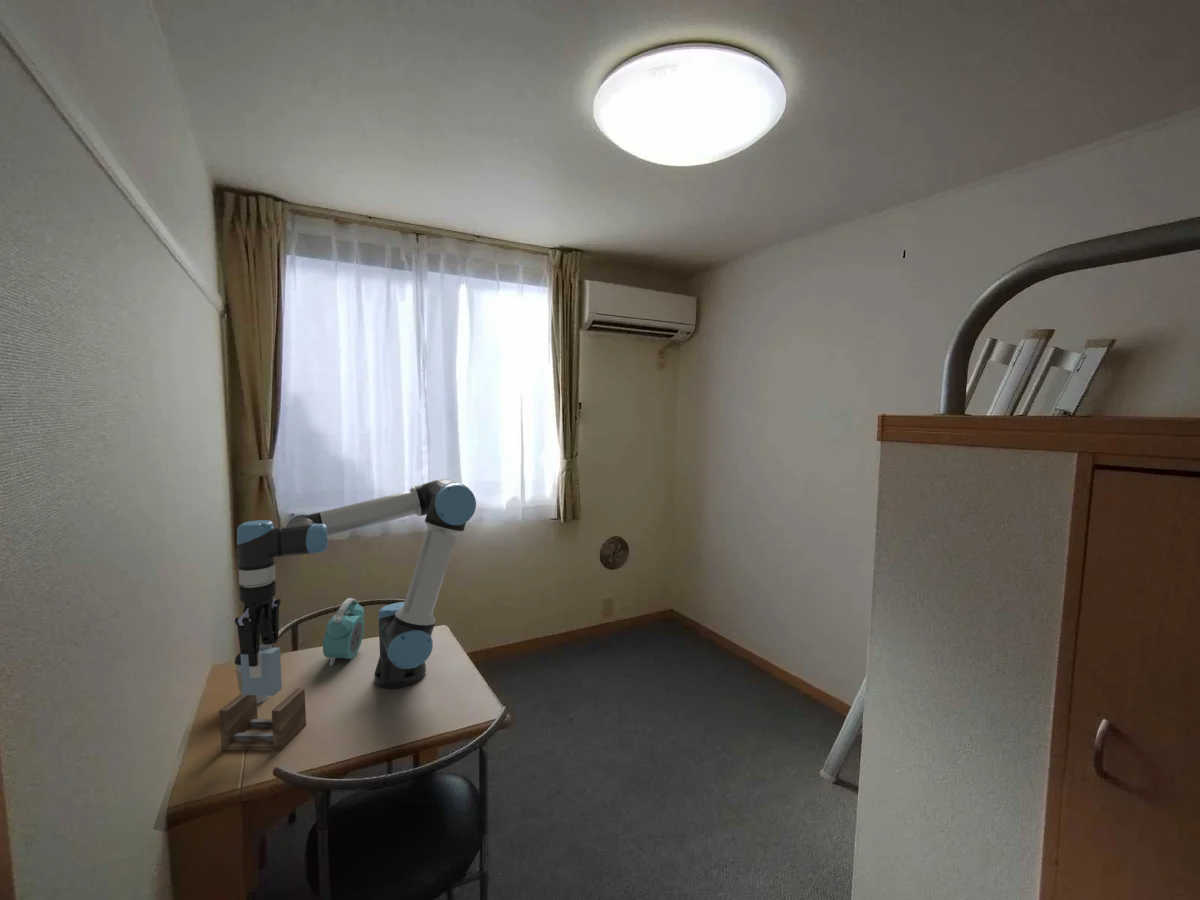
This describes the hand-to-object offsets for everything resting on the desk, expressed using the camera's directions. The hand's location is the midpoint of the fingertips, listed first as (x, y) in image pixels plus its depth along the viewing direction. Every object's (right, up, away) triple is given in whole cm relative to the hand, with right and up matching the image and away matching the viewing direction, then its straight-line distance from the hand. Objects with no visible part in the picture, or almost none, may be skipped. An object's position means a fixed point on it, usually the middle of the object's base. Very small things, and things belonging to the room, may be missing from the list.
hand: (261, 672), depth 126 cm
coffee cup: (-14, -16, +18) cm, 28 cm away
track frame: (0, -17, +1) cm, 17 cm away
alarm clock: (-1, -14, +43) cm, 45 cm away
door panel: (0, -5, 0) cm, 5 cm away
